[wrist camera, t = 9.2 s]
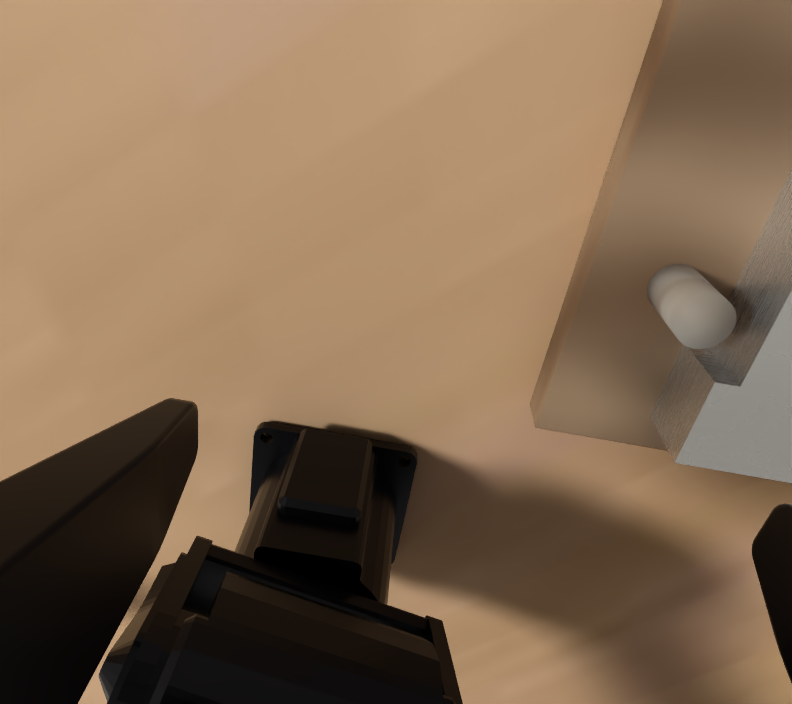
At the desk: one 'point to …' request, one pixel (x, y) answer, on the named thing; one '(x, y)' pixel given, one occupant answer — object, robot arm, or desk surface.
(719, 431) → the grey i-beam piece
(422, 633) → the robot arm
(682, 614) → the desk surface
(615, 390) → the peg board
